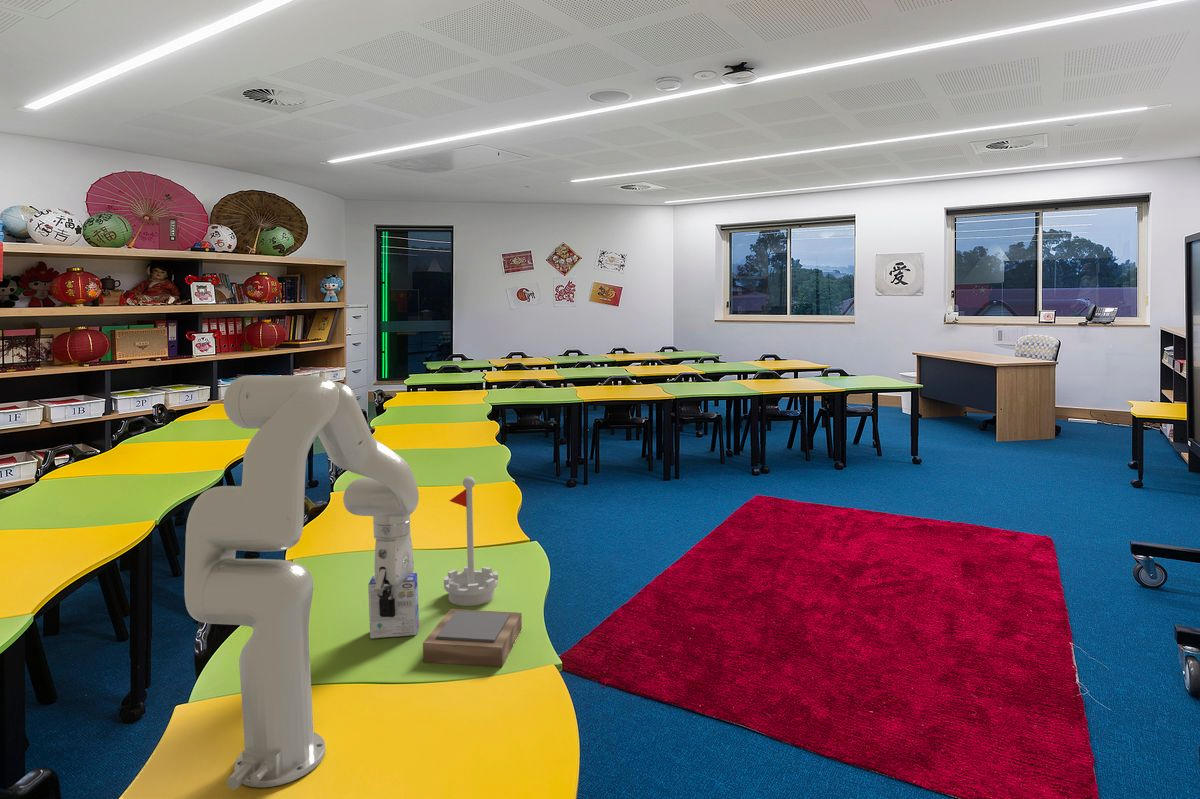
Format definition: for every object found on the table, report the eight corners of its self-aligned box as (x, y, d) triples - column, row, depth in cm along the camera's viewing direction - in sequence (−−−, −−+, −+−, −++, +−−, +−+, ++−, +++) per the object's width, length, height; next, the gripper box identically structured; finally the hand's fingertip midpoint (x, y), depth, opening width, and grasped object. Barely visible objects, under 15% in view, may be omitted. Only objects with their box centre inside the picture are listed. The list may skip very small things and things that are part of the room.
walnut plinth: (502, 667, 132) (501, 645, 132) (423, 661, 134) (422, 640, 134) (521, 630, 148) (521, 610, 148) (451, 626, 150) (450, 606, 150)
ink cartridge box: (419, 624, 151) (417, 561, 149) (417, 635, 145) (415, 570, 144) (373, 628, 149) (371, 564, 147) (369, 639, 144) (367, 573, 142)
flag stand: (482, 582, 176) (480, 468, 172) (508, 598, 165) (506, 477, 162) (435, 594, 168) (431, 475, 164) (459, 612, 157) (455, 485, 154)
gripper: (391, 542, 136) (394, 628, 138) (424, 518, 153) (426, 594, 155) (355, 540, 137) (359, 626, 139) (392, 516, 154) (395, 593, 156)
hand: (394, 608), depth 147 cm, fingers closed on ink cartridge box, 6 cm apart
